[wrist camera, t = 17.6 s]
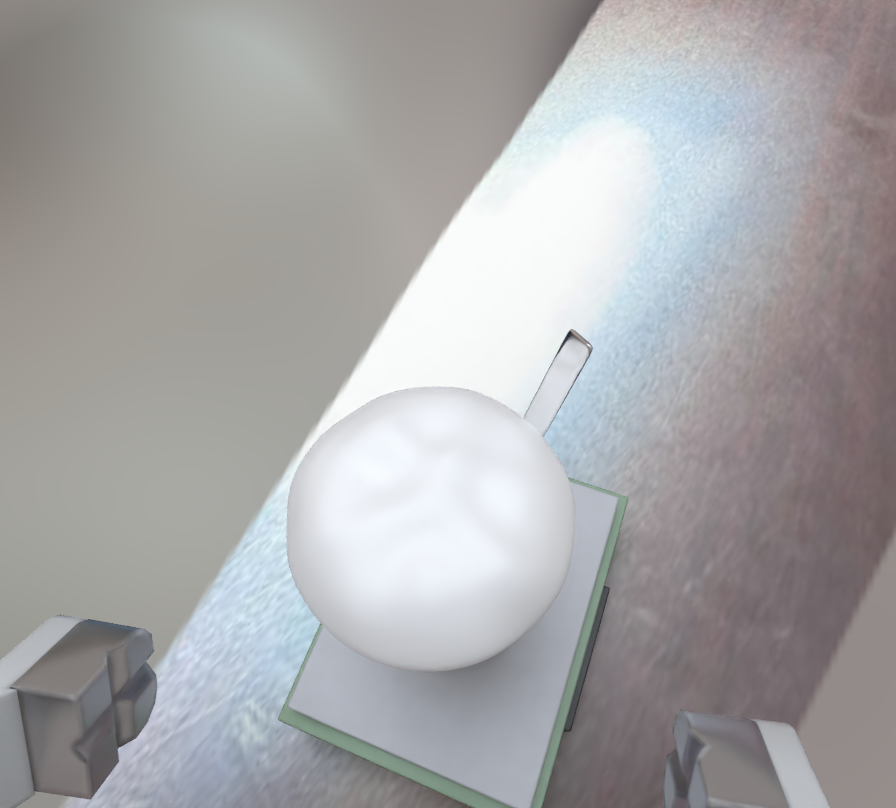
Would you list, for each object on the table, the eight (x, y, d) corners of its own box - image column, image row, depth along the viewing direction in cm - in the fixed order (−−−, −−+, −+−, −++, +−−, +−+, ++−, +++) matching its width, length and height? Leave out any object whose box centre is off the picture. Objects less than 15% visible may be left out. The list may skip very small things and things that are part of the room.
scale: (620, 528, 22) (643, 490, 19) (536, 826, 19) (546, 844, 15) (418, 459, 24) (405, 413, 20) (305, 722, 20) (267, 718, 17)
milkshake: (600, 596, 18) (709, 447, 9) (443, 742, 16) (385, 743, 7) (485, 473, 19) (479, 245, 10) (335, 597, 18) (182, 456, 9)
